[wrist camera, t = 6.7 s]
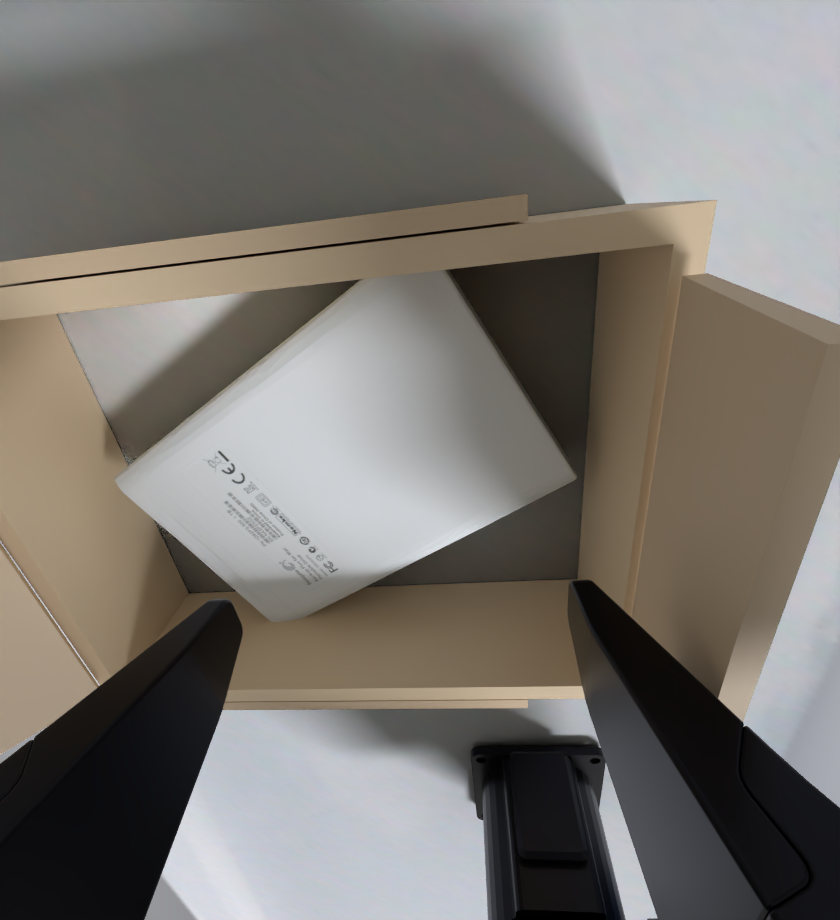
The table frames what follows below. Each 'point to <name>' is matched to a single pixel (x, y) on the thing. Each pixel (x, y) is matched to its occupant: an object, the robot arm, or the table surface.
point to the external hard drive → (352, 449)
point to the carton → (371, 608)
